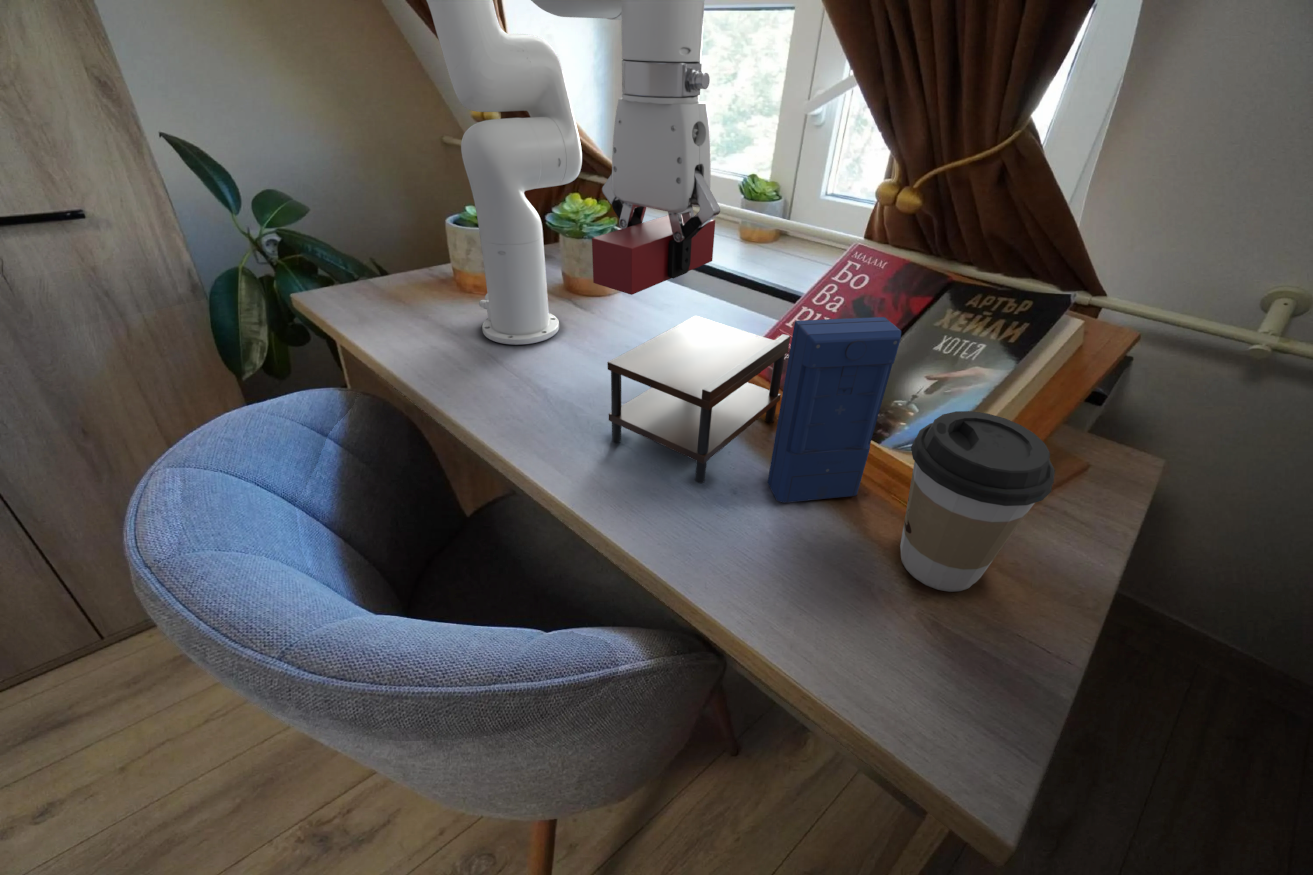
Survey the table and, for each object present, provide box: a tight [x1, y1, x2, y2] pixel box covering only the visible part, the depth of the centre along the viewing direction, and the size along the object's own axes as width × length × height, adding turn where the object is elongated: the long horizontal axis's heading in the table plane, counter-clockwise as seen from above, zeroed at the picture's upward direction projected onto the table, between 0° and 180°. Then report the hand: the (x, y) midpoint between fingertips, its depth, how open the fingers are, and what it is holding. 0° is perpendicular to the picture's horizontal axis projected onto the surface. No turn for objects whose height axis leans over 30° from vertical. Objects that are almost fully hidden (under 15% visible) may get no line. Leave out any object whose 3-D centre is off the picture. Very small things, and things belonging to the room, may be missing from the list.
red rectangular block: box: [591, 214, 716, 296], centre depth 67 cm, size 5×15×5 cm, turn 142°
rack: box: [607, 315, 791, 484], centre depth 75 cm, size 14×18×12 cm
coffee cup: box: [899, 410, 1056, 593], centre depth 55 cm, size 11×11×15 cm
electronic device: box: [767, 316, 902, 503], centre depth 63 cm, size 10×5×20 cm, turn 100°
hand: (656, 267), depth 68 cm, fingers closed on red rectangular block, 5 cm apart
